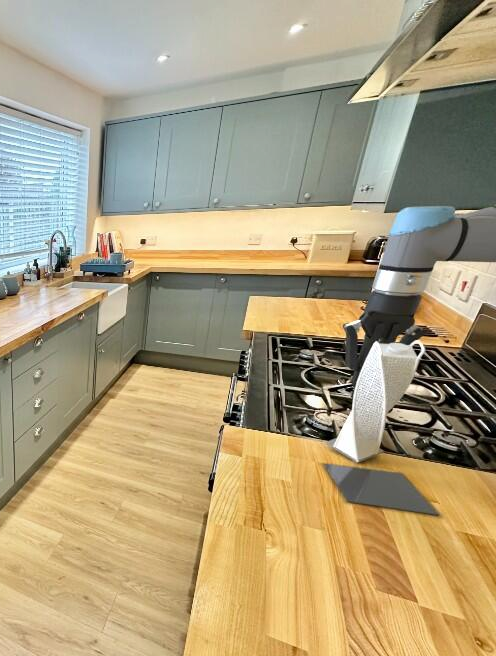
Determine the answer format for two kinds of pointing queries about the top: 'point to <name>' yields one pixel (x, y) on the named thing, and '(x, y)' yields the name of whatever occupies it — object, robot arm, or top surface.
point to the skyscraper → (376, 398)
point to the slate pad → (378, 489)
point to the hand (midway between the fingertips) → (357, 399)
